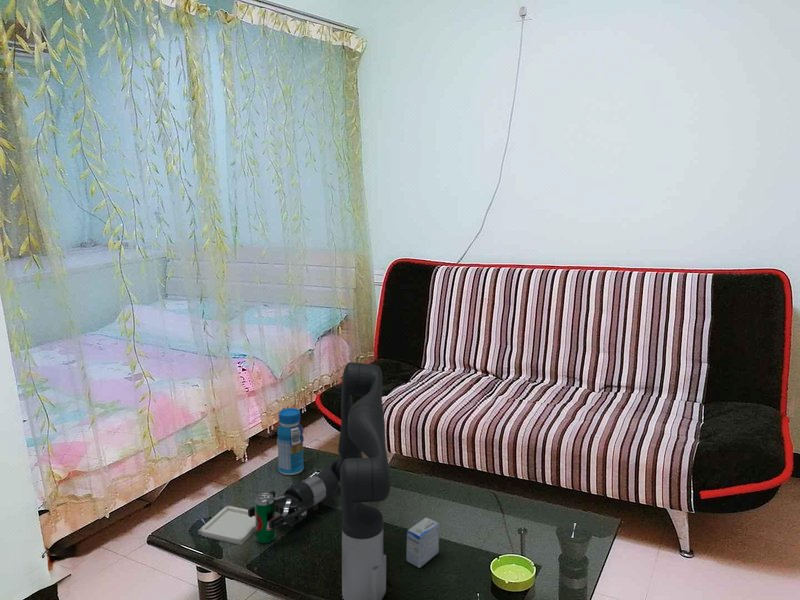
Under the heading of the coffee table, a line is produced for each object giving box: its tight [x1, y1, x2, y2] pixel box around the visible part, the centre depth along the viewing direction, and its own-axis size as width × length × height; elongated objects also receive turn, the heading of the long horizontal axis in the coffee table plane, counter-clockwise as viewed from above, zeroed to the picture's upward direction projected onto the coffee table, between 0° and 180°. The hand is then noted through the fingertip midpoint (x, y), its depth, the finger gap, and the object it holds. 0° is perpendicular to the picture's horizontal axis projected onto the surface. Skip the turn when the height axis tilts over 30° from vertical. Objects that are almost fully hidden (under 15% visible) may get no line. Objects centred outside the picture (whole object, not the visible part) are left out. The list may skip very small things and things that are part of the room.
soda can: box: [254, 492, 277, 545], centre depth 156 cm, size 5×5×12 cm
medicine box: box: [405, 517, 440, 569], centre depth 149 cm, size 8×4×9 cm, turn 141°
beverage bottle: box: [276, 407, 305, 476], centre depth 192 cm, size 8×8×20 cm
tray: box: [197, 505, 256, 546], centre depth 162 cm, size 13×13×2 cm
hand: (259, 519), depth 154 cm, fingers open, 8 cm apart
